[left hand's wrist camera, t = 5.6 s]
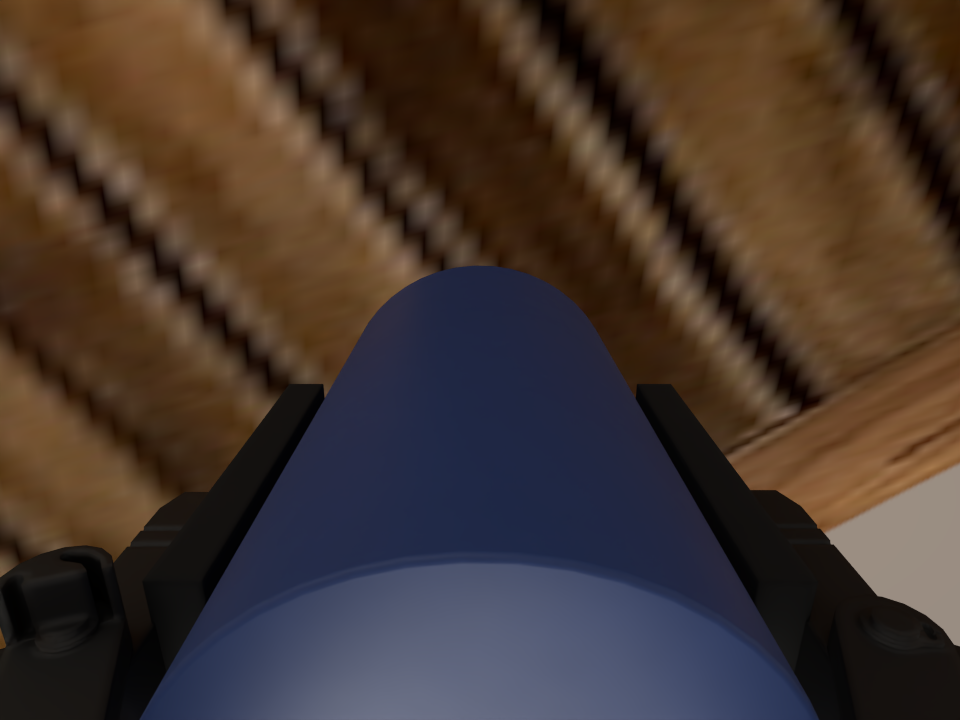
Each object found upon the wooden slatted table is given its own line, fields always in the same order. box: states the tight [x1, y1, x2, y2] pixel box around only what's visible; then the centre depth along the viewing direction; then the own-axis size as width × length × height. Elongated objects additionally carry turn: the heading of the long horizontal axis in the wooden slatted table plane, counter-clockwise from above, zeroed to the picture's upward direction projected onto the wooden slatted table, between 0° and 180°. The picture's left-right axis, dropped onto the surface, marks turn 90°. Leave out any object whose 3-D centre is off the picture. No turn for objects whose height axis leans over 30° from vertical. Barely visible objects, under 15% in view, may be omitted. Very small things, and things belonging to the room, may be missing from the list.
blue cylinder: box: [140, 266, 819, 720], centre depth 12 cm, size 7×7×11 cm
